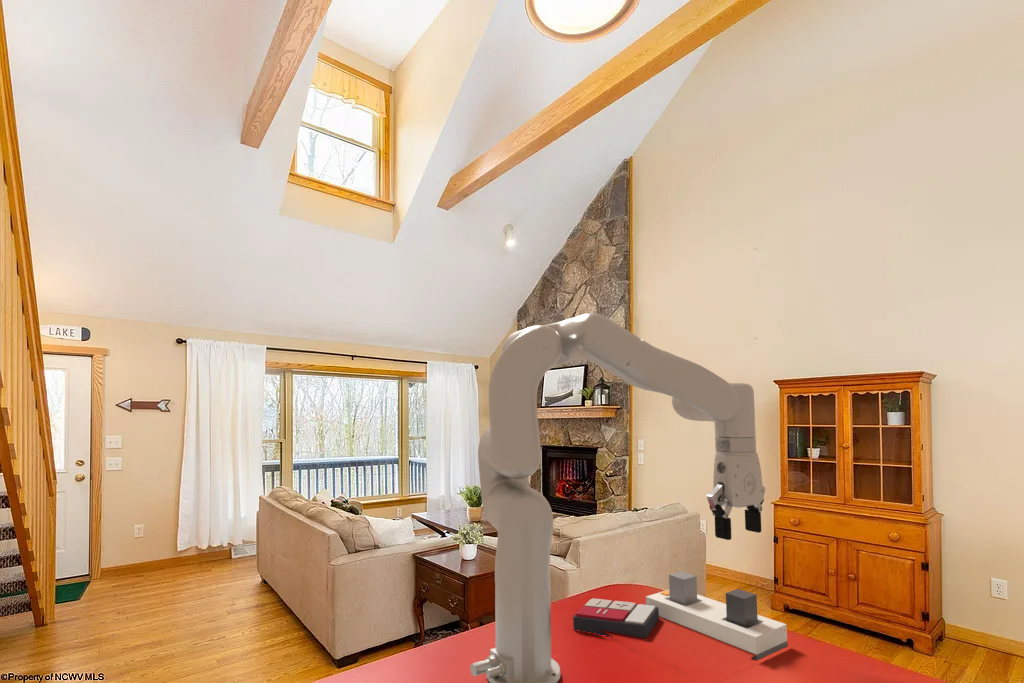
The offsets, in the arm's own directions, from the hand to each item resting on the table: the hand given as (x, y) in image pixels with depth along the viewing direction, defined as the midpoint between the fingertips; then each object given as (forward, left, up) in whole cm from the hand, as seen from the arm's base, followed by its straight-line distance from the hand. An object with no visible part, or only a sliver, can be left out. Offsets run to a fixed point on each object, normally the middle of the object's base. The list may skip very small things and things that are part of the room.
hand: (738, 534), depth 114 cm
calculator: (-14, +20, -21) cm, 32 cm away
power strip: (0, +7, -20) cm, 21 cm away
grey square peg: (0, +14, -19) cm, 24 cm away
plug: (0, 0, -19) cm, 19 cm away
